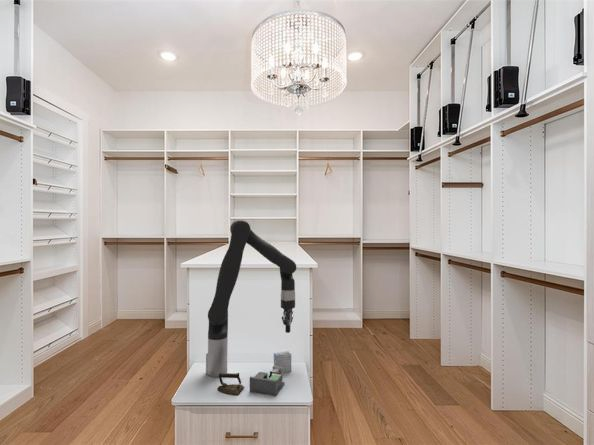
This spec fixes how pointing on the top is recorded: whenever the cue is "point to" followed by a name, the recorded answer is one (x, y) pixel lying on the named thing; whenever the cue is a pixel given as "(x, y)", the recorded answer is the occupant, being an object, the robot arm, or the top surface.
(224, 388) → the clothes iron
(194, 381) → the top surface
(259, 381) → the box
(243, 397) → the top surface
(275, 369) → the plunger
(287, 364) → the medicine box
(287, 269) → the robot arm
